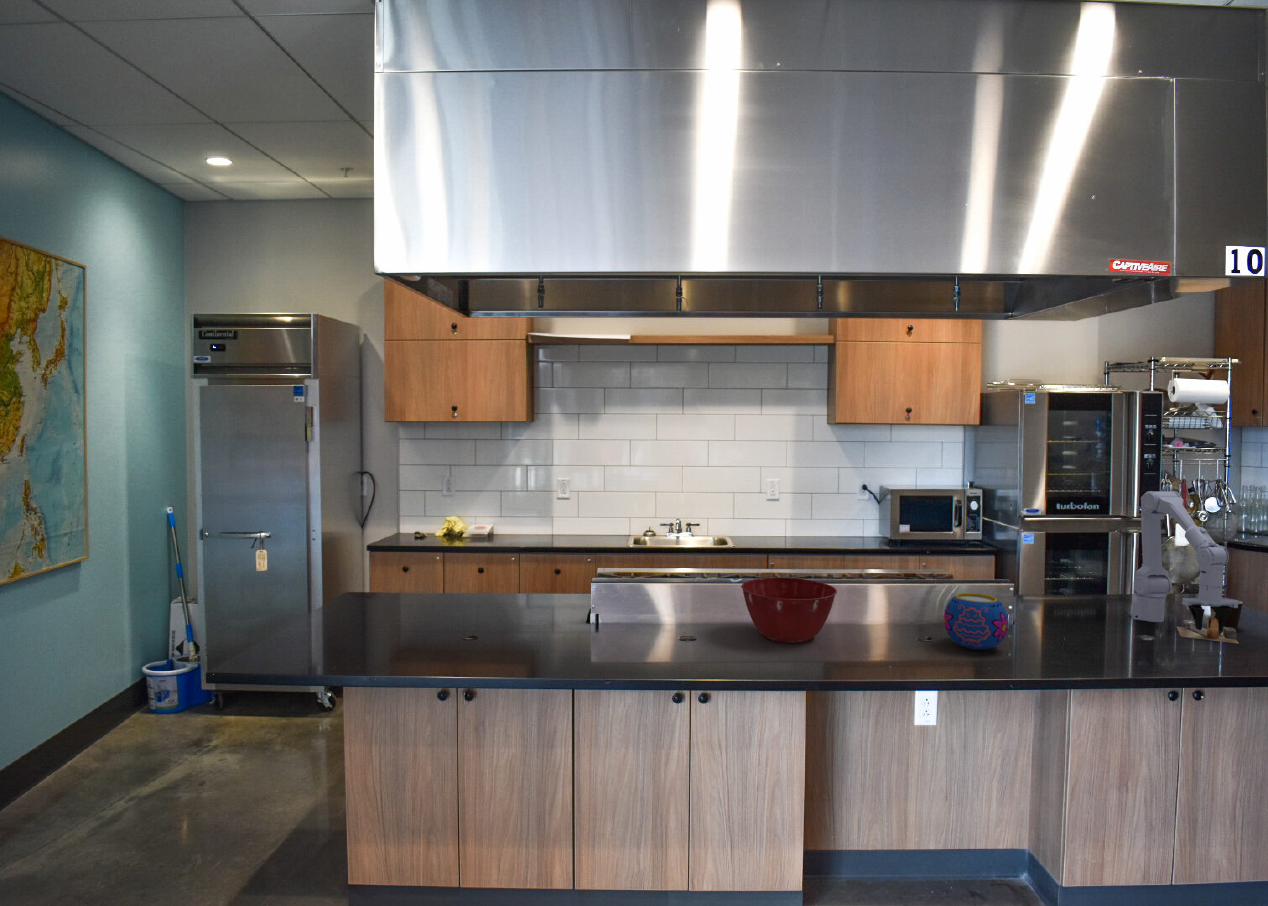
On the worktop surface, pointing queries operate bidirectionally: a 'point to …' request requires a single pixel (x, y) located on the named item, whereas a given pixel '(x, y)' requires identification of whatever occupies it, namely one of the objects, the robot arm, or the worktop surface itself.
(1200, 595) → the robot arm
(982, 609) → the ceramic pot
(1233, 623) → the coffee mug
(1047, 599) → the worktop surface
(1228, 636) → the beige square panel
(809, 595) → the mixing bowl
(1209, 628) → the lever
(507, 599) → the worktop surface
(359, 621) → the worktop surface
